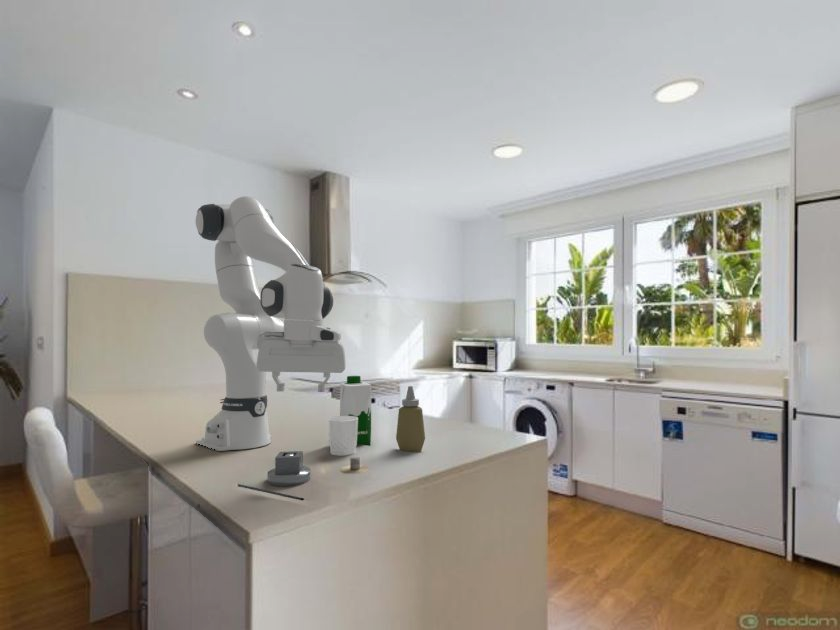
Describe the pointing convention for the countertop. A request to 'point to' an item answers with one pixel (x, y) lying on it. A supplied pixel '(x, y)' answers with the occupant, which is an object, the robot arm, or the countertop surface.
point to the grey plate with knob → (285, 480)
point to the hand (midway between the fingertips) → (301, 391)
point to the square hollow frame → (289, 463)
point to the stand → (355, 467)
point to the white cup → (343, 435)
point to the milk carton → (357, 406)
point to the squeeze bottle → (410, 424)
